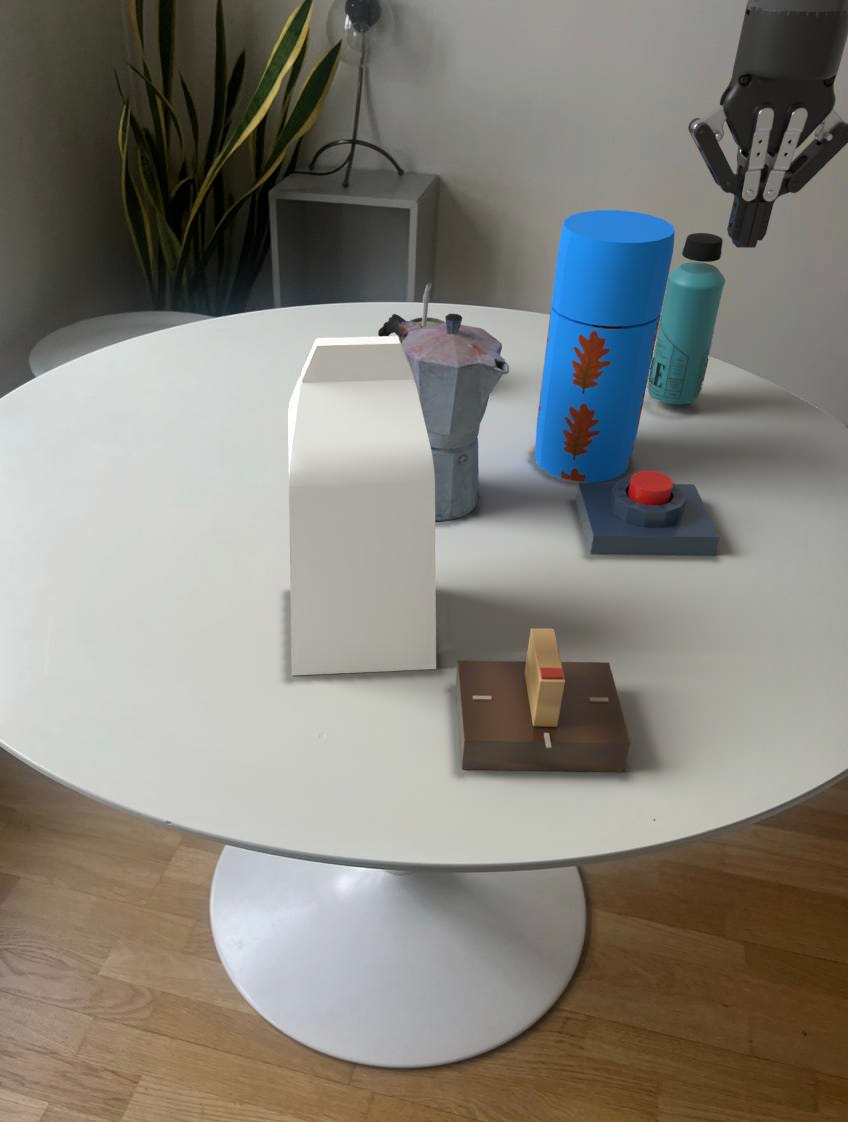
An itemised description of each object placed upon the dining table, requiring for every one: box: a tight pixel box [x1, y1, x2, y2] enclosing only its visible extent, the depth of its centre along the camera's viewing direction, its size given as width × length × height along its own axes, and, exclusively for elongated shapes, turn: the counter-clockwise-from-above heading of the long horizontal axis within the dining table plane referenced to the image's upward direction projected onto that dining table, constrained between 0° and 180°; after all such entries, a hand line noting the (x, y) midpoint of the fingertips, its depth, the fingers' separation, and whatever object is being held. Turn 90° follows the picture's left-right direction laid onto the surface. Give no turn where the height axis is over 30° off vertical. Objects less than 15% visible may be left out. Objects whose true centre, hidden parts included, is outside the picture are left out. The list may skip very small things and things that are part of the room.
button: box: [628, 470, 674, 505], centre depth 94 cm, size 4×4×2 cm
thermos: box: [534, 209, 676, 483], centre depth 100 cm, size 11×11×25 cm
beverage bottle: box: [646, 232, 726, 405], centre depth 112 cm, size 6×7×20 cm
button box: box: [575, 475, 720, 557], centre depth 96 cm, size 12×10×4 cm
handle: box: [525, 627, 565, 727], centre depth 71 cm, size 6×2×5 cm, turn 179°
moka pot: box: [377, 313, 510, 522], centre depth 95 cm, size 10×15×20 cm, turn 53°
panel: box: [455, 659, 632, 773], centre depth 74 cm, size 12×10×3 cm
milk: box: [287, 335, 437, 677], centre depth 76 cm, size 12×12×26 cm
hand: (742, 244), depth 81 cm, fingers closed
